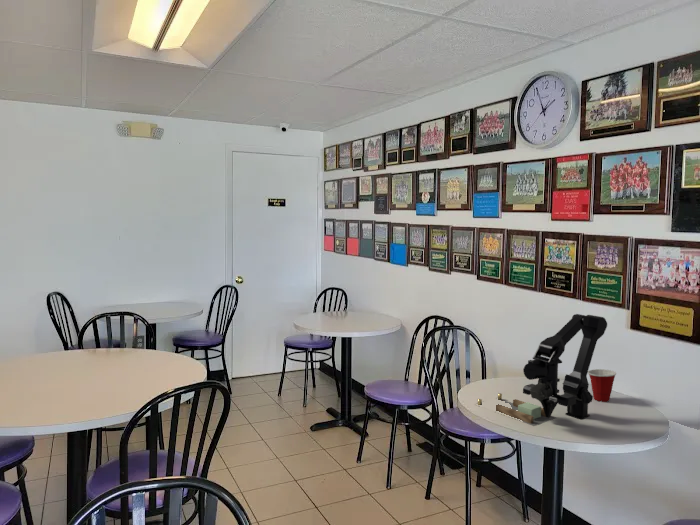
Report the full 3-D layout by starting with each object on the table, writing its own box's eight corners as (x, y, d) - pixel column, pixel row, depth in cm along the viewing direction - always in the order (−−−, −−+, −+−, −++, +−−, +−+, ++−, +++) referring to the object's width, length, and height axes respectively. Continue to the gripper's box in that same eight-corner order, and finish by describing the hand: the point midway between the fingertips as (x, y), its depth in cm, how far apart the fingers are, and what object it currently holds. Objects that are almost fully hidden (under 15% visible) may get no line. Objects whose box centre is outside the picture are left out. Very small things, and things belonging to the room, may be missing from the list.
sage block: (541, 416, 202) (541, 406, 201) (531, 420, 198) (531, 409, 198) (527, 412, 207) (527, 402, 206) (517, 415, 203) (518, 405, 203)
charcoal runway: (556, 418, 201) (556, 417, 201) (533, 426, 193) (533, 425, 193) (497, 398, 224) (497, 397, 224) (474, 404, 215) (474, 404, 215)
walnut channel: (550, 417, 202) (550, 410, 202) (530, 423, 195) (530, 417, 195) (515, 405, 215) (515, 399, 215) (495, 411, 208) (495, 405, 208)
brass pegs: (502, 399, 221) (502, 394, 221) (479, 406, 213) (479, 400, 213) (499, 398, 223) (499, 393, 222) (476, 405, 214) (476, 399, 214)
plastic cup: (588, 393, 229) (589, 366, 228) (616, 398, 224) (617, 370, 223) (584, 401, 220) (585, 372, 219) (613, 405, 215) (615, 376, 214)
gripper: (514, 373, 198) (513, 414, 199) (559, 386, 182) (557, 430, 184) (532, 368, 204) (531, 408, 205) (577, 380, 189) (576, 423, 190)
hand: (548, 417), depth 196 cm, fingers closed
